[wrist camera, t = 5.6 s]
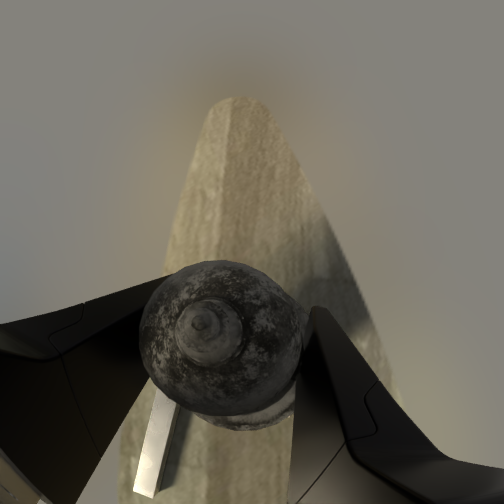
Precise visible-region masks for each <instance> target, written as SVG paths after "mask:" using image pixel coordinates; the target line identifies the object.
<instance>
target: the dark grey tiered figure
mask: <svg viewBox="0 0 504 504" xmlns="http://www.w3.org/2000/svg"><path fill="white" fill-rule="evenodd" d="M308 319H309V316H308V315H307V313H306V312H305V311H304V309H303V308H302V306H301V305H300V304H298V303H297V302H296V301H295V300H294V299H293V298H291V297H290V296H289V295H288V294H287V293H285V292H284V291H283V289H282V288H281V287H280V286H279V285H278V284H277V283H275V282H274V281H273V280H272V279H271V278H269V277H268V276H267V275H266V274H264V273H263V272H261V271H259V270H257V269H254V268H252V267H250V266H248V265H246V264H242V263H237V262H232V261H226V260H218V261H204V262H200V263H197V264H194V265H190V266H187V267H184V268H183V269H181V270H179V271H178V272H176V273H174V274H173V275H171V276H169V277H168V278H167V279H166V280H165V281H164V282H163V283H162V284H161V285H160V286H159V287H158V288H157V289H156V290H155V291H154V292H153V294H152V296H151V297H150V299H149V301H148V303H147V304H146V306H145V308H144V311H143V314H142V318H141V322H140V325H139V349H140V353H141V357H142V360H143V364H144V367H145V369H146V370H147V372H148V374H149V376H150V377H151V379H152V381H153V383H154V384H155V385H156V386H157V387H158V388H159V389H160V390H161V391H162V392H163V393H164V394H165V395H166V396H167V397H168V398H169V399H170V400H172V401H174V402H176V403H177V404H179V405H181V406H183V407H184V408H186V409H188V410H190V411H192V412H193V413H195V414H196V415H197V416H198V417H200V418H202V419H203V420H205V421H207V422H209V423H211V424H213V425H215V426H218V427H222V428H226V429H230V430H235V431H246V430H259V429H262V428H265V427H269V426H272V425H275V424H277V423H279V422H281V421H282V420H284V419H285V418H287V417H289V416H290V415H292V414H293V413H294V406H295V388H296V379H297V377H298V375H299V373H300V371H301V366H302V360H303V355H304V346H303V337H304V332H305V328H306V325H307V322H308Z"/></svg>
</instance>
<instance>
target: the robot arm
mask: <svg viewBox="0 0 504 504" xmlns="http://www.w3.org/2000/svg"><path fill="white" fill-rule="evenodd" d="M171 275H173V274H171ZM171 275H168V276H164V277H161V278H158V279H155V280H152V281H149V282H146V283H143V284H140V285H136V286H133V287H130V288H127V289H124V290H121V291H118V292H115V293H112V294H109V295H106V296H102V297H99V298H96V299H93V300H90V301H87V302H85V303H81V304H78V305H75V306H71V307H68V308H65V309H61V310H58V311H54V312H51V313H47V314H42V315H39V316H34V317H30V318H26V319H22V320H17V321H13V322H9V323H4V324H0V504H37V503H38V501H39V500H40V499H41V500H42V501H44V502H45V503H47V504H76V502H77V500H78V498H79V496H80V495H81V493H82V491H83V489H84V488H85V486H86V484H87V482H88V481H89V479H90V477H91V475H92V474H93V472H94V470H95V468H96V467H97V465H98V463H99V461H100V460H101V458H102V456H103V454H104V453H105V451H106V449H107V448H108V446H109V444H110V443H111V441H112V439H113V437H114V436H115V434H116V432H117V431H118V429H119V427H120V426H121V424H122V422H123V421H124V419H125V417H126V415H127V414H128V412H129V410H130V409H131V407H132V405H133V404H134V402H135V400H136V399H137V397H138V395H139V394H140V392H141V390H142V389H143V387H144V386H145V384H146V382H147V381H148V379H149V377H150V376H149V374H148V372H147V370H146V369H145V367H144V364H143V360H142V357H141V353H140V349H139V325H140V322H141V318H142V314H143V311H144V308H145V306H146V304H147V303H148V301H149V299H150V297H151V296H152V294H153V292H154V291H155V290H156V289H157V288H158V287H159V286H160V285H161V284H162V283H163V282H164V281H165V280H166V279H167V278H168V277H169V276H171ZM303 346H304V355H303V360H302V366H301V371H300V373H299V375H298V377H297V379H296V388H295V406H294V422H293V437H292V450H291V463H290V474H289V485H288V496H287V504H504V469H502V468H495V467H489V466H484V465H478V464H473V463H468V462H463V461H458V460H455V459H452V458H450V457H448V456H446V455H444V454H443V453H442V452H440V451H439V450H438V449H437V448H436V447H435V446H434V445H433V444H432V442H431V441H430V440H429V439H428V438H427V437H426V436H425V435H424V433H423V432H422V431H421V430H420V429H419V428H418V427H417V426H416V424H414V422H413V421H412V420H411V419H410V418H409V417H408V415H407V414H406V413H405V412H404V411H403V410H402V408H401V407H400V406H399V405H398V404H397V403H396V401H395V400H394V399H393V397H392V396H391V395H390V393H389V392H388V391H387V389H386V388H385V387H384V385H383V384H382V383H381V381H378V380H379V379H378V377H377V376H376V374H375V373H374V372H373V370H372V369H371V368H370V366H369V365H368V363H367V362H366V361H365V359H364V358H363V357H362V355H361V354H360V353H359V351H358V350H357V348H356V347H355V346H354V344H353V343H352V342H351V340H350V339H349V338H348V336H347V335H346V334H345V332H344V331H343V330H342V328H341V327H340V325H339V324H338V323H337V321H336V320H335V319H334V317H333V316H332V315H331V313H330V312H329V311H328V310H327V309H326V308H323V307H318V306H313V307H312V309H311V312H310V316H309V319H308V322H307V325H306V328H305V332H304V337H303Z"/></svg>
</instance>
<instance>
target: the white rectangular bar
mask: <svg viewBox="0 0 504 504" xmlns="http://www.w3.org/2000/svg"><path fill="white" fill-rule="evenodd" d="M180 406H181V405H179V404H177V403H176V402H174V401H172V400H170V399H169V398H168V397H167V396H166V395H165V394H164V393H163V392H162V391H161V390H160V389H159V388H157V392H156V396H155V400H154V404H153V408H152V412H151V416H150V420H149V424H148V428H147V432H146V436H145V440H144V445H143V449H142V453H141V457H140V462H139V466H138V471H137V475H136V480H135V485H134V489H133V491H135V492H138V493H140V494H142V495H145V496H147V497H150V498H152V499H153V498H154V497H155V496H156V495H157V493H158V492H159V490H160V485H161V481H162V477H163V473H164V469H165V465H166V461H167V457H168V453H169V449H170V445H171V441H172V437H173V433H174V429H175V426H176V422H177V418H178V414H179V410H180Z"/></svg>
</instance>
